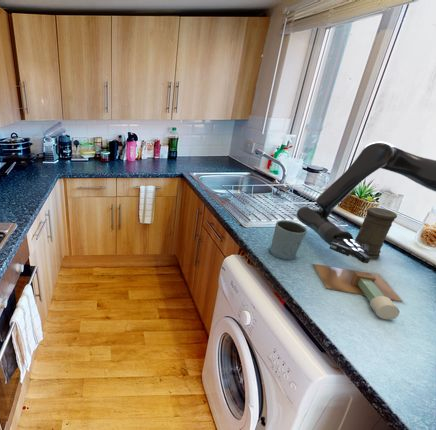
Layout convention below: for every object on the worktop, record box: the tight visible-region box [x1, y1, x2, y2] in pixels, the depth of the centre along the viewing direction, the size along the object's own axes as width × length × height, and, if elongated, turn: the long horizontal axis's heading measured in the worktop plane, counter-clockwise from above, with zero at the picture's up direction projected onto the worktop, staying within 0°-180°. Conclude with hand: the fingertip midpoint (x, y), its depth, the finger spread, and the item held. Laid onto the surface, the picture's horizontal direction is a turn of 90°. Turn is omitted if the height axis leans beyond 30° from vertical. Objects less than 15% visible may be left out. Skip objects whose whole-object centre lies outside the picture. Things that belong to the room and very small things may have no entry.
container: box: [354, 207, 398, 260], centre depth 109 cm, size 9×9×18 cm
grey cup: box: [269, 219, 308, 260], centre depth 108 cm, size 10×10×12 cm
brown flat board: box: [312, 263, 403, 303], centre depth 96 cm, size 20×14×1 cm
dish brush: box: [351, 272, 400, 320], centre depth 86 cm, size 5×5×16 cm
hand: (366, 260), depth 92 cm, fingers closed
